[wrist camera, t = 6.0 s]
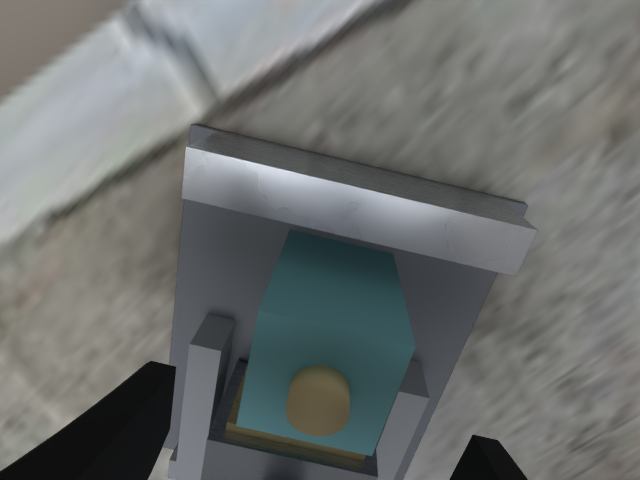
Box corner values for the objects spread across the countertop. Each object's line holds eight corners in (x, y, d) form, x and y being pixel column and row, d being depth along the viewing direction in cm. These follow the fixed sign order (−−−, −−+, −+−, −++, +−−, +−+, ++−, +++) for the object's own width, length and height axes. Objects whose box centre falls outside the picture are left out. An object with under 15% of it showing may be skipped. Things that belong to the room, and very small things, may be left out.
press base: (524, 202, 14) (572, 238, 11) (393, 492, 20) (401, 565, 17) (193, 123, 14) (149, 137, 11) (164, 441, 20) (131, 507, 17)
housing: (393, 253, 15) (421, 368, 9) (365, 338, 16) (373, 482, 11) (289, 229, 15) (250, 329, 9) (271, 316, 16) (228, 450, 11)
